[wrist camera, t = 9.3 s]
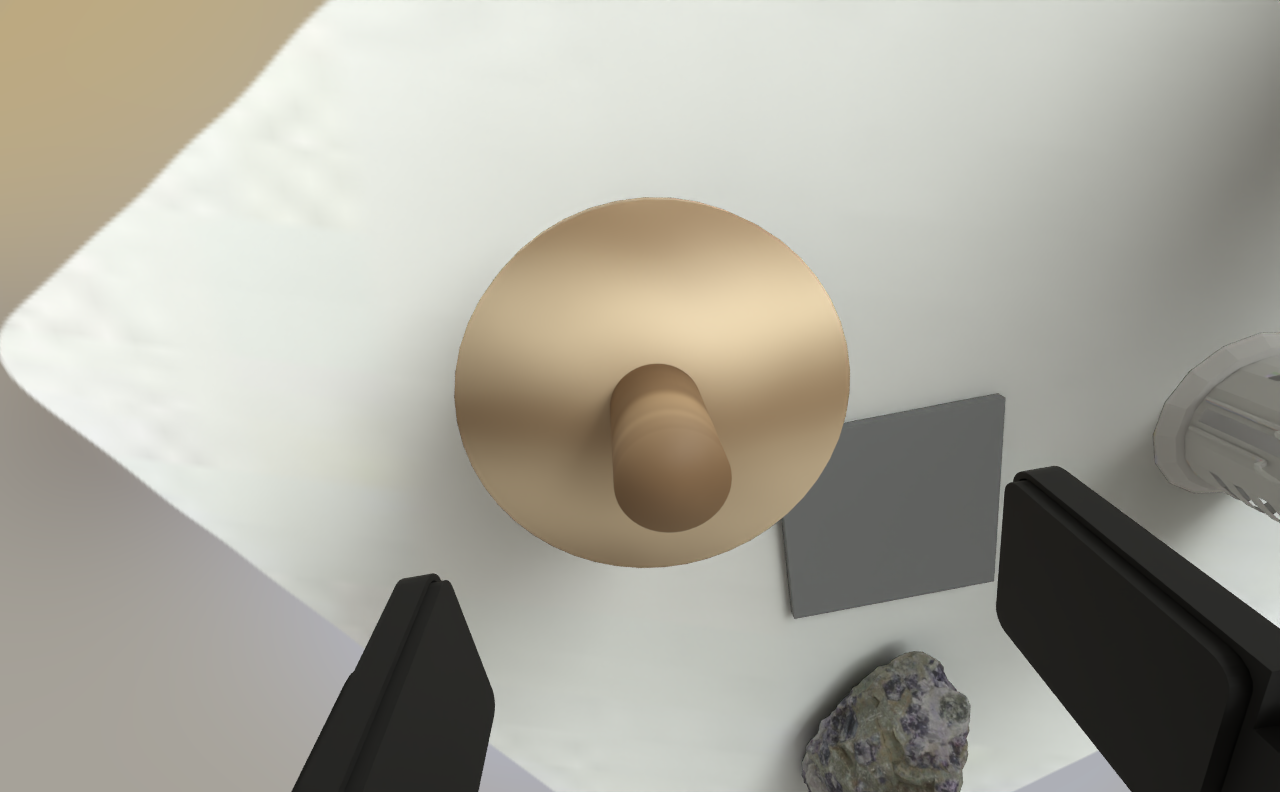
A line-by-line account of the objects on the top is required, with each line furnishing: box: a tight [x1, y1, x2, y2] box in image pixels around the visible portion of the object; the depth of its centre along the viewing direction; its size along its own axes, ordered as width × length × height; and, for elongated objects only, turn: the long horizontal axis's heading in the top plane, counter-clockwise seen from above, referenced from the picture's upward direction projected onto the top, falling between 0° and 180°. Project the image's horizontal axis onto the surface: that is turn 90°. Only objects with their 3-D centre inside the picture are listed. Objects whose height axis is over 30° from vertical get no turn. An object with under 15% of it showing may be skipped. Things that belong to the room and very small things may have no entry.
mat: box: [782, 394, 1005, 619], centre depth 34 cm, size 12×12×1 cm
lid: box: [454, 197, 850, 568], centre depth 17 cm, size 12×12×6 cm
